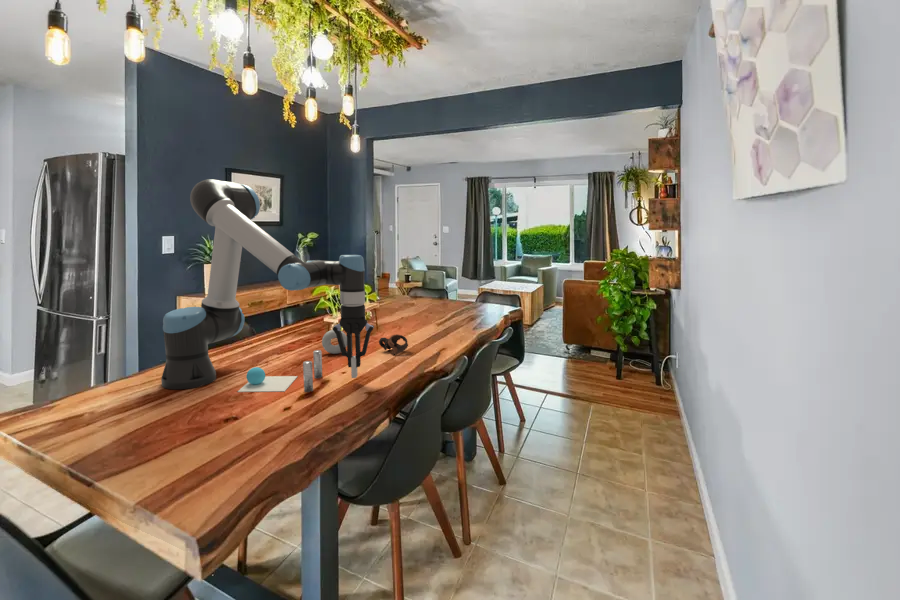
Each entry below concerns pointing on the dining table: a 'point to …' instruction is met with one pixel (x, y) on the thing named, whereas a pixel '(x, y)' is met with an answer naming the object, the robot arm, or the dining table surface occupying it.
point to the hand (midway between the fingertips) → (354, 376)
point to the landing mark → (270, 384)
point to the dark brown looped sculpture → (393, 343)
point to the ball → (255, 375)
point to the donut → (327, 342)
